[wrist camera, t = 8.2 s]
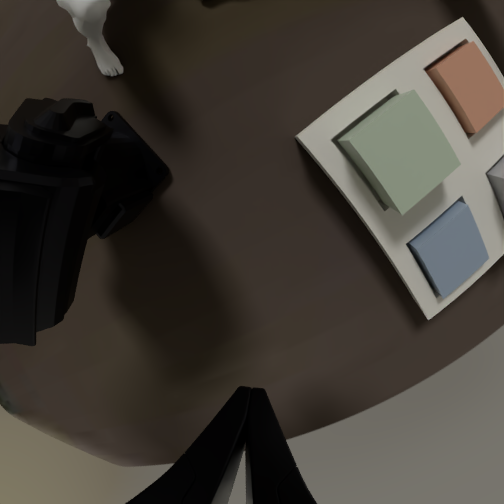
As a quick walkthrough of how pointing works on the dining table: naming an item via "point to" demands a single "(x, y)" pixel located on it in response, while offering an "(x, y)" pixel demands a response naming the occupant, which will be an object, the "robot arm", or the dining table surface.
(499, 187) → the key grey
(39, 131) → the robot arm
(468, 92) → the key terracotta
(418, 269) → the keypad
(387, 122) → the key sage
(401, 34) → the dining table surface
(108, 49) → the person figurine
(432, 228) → the key slate
